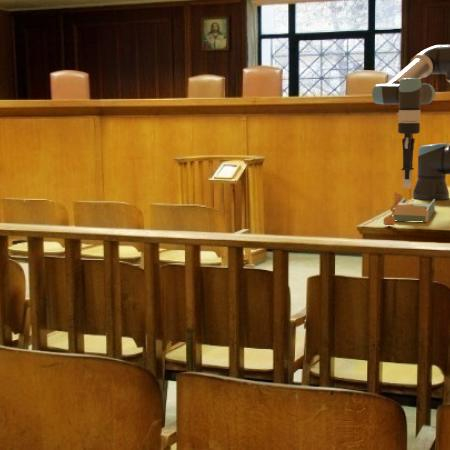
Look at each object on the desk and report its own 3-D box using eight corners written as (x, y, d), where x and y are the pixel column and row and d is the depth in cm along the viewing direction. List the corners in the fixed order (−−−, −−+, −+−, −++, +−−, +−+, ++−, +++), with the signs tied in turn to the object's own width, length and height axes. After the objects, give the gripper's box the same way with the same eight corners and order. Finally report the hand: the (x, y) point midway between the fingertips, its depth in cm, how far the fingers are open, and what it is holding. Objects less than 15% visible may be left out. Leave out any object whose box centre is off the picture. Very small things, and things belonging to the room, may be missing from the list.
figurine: (385, 224, 268) (386, 190, 266) (402, 225, 266) (404, 190, 264) (381, 228, 261) (382, 193, 259) (399, 229, 259) (400, 193, 256)
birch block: (398, 211, 281) (399, 202, 281) (412, 211, 280) (413, 203, 279) (396, 213, 277) (397, 204, 276) (411, 214, 275) (411, 205, 275)
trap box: (404, 209, 302) (404, 194, 301) (434, 210, 298) (435, 195, 297) (393, 221, 275) (393, 204, 274) (426, 223, 271) (427, 206, 270)
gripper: (400, 121, 283) (399, 185, 288) (395, 123, 271) (393, 190, 276) (421, 121, 281) (419, 186, 285) (417, 123, 269) (415, 190, 273)
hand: (407, 188), depth 280 cm, fingers closed
